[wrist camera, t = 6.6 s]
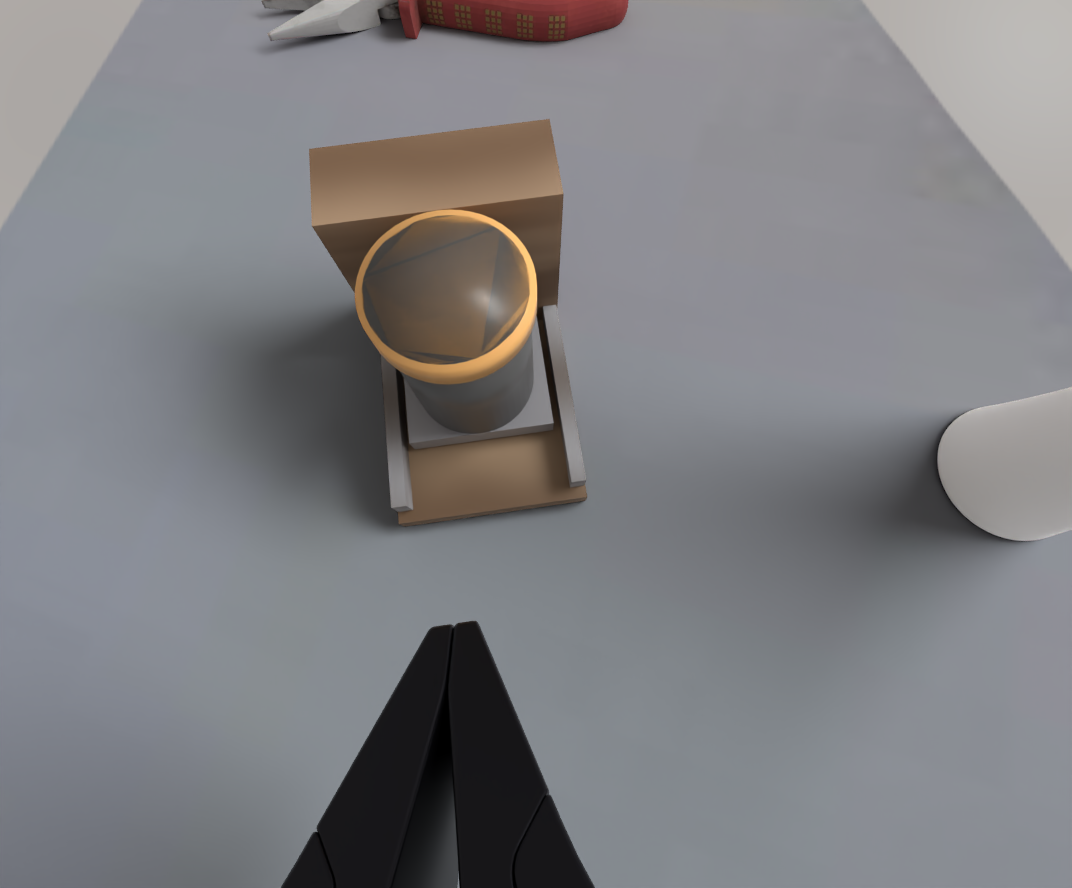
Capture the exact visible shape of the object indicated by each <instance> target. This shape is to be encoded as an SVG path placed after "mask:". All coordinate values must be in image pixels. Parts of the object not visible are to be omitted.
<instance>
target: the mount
mask: <svg viewBox="0 0 1072 888" xmlns="http://www.w3.org/2000/svg"><path fill="white" fill-rule="evenodd" d="M309 156H310V184H311V212H312V227H313V228H314V230H315V232H316V233H317V235H318V236H319V238H320V239H321V241H322V243H323V244H324V246H325V247H326V249H327V250H328V252H329V254H330V255H331V257H332V258H333V260H334V261H335V263H336V264H337V266H338V268H339V269H340V271H341V272H342V274H343V275H344V277H345V279H346V280H347V282H348V283H349V285H350V286H351V288H352V290H353V291H354V293H355V286H356V279H357V275H358V272H359V269H360V266H361V264H362V262H363V260H364V258H365V256H366V255H367V253H368V252H369V250H370V249H371V247H372V246H373V245H374V244H375V243H376V241H377V240H378V239H379V238H380V237H381V236H383V235H384V234H385V233H386V232H387V231H388V230H390V229H391V228H393V227H394V226H395V225H397V224H399V223H401V222H402V221H404V220H406V219H409V218H411V217H413V216H416V215H419V214H423V213H426V212H431V211H437V210H464V211H470V212H474V213H478V214H482V215H484V216H487V217H489V218H492V219H494V220H495V221H497V222H499V223H501V224H502V225H504V226H505V227H506V228H508V229H509V230H510V231H511V232H513V233H514V234H515V235H516V236H517V237H518V238H519V240H520V241H521V242H522V243H523V245H524V246H525V248H526V249H527V251H528V253H529V255H530V257H531V259H532V262H533V264H534V268H535V273H536V280H537V314H536V316H537V322H538V328H539V334H540V341H541V347H542V353H543V359H544V366H545V372H546V378H547V385H548V391H549V397H550V404H551V410H552V416H553V422H554V425H553V430H550V431H543V432H536V433H529V434H522V435H515V436H508V437H501V438H493V439H486V440H479V441H472V442H465V443H458V444H451V445H444V446H436V447H429V448H422V449H414V448H413V447H412V446H411V445H410V444H409V434H408V422H407V410H406V398H405V385H404V377H403V375H402V374H401V372H400V371H399V370H398V369H396V368H395V367H393V366H392V365H391V364H390V363H389V362H388V361H387V360H386V359H385V358H384V357H383V356H382V355H381V354H380V356H381V371H382V385H383V399H384V413H385V427H386V441H387V455H388V470H389V484H390V498H391V508H392V509H394V510H396V511H398V520H399V524H400V525H402V526H404V527H406V526H413V525H420V524H427V523H433V522H440V521H447V520H454V519H461V518H468V517H475V516H482V515H489V514H496V513H503V512H510V511H517V510H524V509H531V508H538V507H545V506H551V505H558V504H565V503H572V502H579V501H585V500H586V498H587V493H586V487H585V482H586V476H585V470H584V464H583V458H582V452H581V446H580V440H579V435H578V429H577V423H576V417H575V411H574V405H573V399H572V394H571V388H570V382H569V376H568V370H567V364H566V359H565V353H564V347H563V341H562V335H561V329H560V323H559V318H558V312H557V302H558V284H559V265H560V247H561V229H562V210H563V189H562V184H561V178H560V173H559V168H558V162H557V157H556V152H555V146H554V141H553V136H552V130H551V125H550V119H546V120H538V121H530V122H522V123H514V124H506V125H498V126H490V127H482V128H474V129H466V130H458V131H450V132H442V133H434V134H426V135H418V136H410V137H402V138H394V139H386V140H378V141H370V142H362V143H354V144H346V145H338V146H330V147H322V148H314V149H309Z"/></svg>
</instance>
